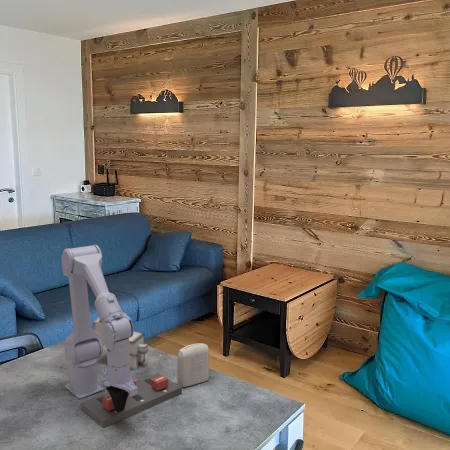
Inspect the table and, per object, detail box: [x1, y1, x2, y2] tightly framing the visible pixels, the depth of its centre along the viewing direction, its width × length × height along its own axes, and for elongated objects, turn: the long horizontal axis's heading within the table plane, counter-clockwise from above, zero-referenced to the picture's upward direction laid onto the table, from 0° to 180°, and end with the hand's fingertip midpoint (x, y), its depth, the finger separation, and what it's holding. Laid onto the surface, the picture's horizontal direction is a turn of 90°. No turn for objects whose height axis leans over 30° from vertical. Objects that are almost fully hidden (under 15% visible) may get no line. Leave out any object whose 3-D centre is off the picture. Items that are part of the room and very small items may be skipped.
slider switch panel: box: [80, 372, 183, 429], centre depth 139 cm, size 12×26×2 cm, turn 134°
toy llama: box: [92, 316, 149, 372], centre depth 161 cm, size 8×18×20 cm, turn 72°
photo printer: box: [176, 342, 210, 388], centre depth 150 cm, size 10×4×12 cm, turn 123°
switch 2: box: [151, 374, 169, 391], centre depth 143 cm, size 3×4×2 cm
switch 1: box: [102, 396, 115, 411], centre depth 132 cm, size 3×4×2 cm
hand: (119, 410), depth 129 cm, fingers closed
